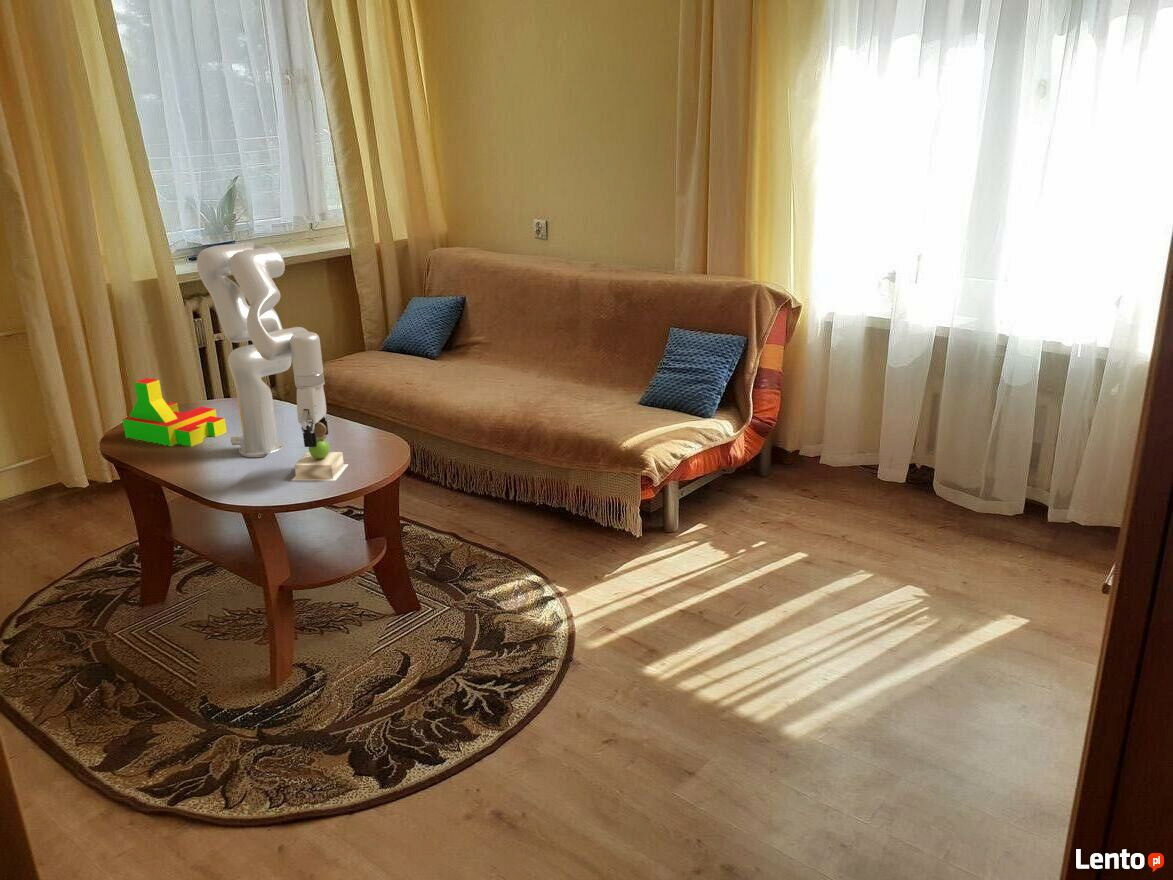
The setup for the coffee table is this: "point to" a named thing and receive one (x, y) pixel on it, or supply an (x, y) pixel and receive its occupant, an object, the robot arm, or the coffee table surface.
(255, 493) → the coffee table surface
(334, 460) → the pedestal block
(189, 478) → the coffee table surface
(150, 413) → the building blocks toy
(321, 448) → the snail figurine
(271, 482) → the coffee table surface
